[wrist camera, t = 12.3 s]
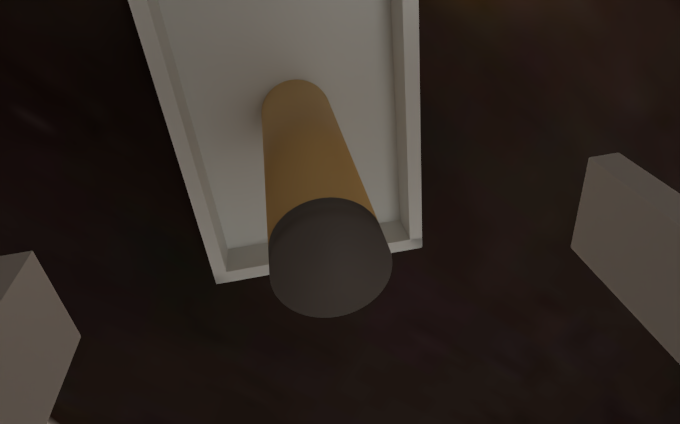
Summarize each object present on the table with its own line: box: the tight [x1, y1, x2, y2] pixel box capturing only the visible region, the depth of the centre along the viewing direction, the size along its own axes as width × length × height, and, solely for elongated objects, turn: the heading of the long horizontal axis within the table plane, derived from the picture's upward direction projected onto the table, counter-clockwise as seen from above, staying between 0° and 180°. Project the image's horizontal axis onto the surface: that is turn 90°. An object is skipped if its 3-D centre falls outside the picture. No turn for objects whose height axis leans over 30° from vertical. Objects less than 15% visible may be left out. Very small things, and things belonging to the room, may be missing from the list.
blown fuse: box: [261, 79, 392, 318], centre depth 16 cm, size 3×3×11 cm
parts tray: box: [128, 0, 422, 284], centre depth 20 cm, size 14×10×2 cm
